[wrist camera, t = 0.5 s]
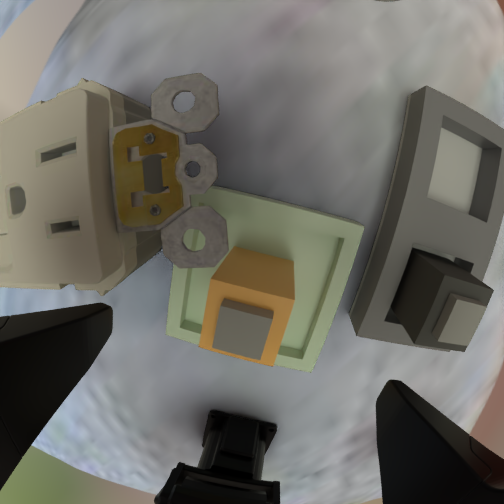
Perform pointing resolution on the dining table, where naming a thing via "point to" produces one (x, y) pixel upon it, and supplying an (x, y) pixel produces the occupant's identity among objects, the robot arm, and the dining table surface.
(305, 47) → the dining table surface
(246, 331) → the plug
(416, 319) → the twin plug
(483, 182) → the power strip
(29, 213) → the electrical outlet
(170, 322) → the tray
